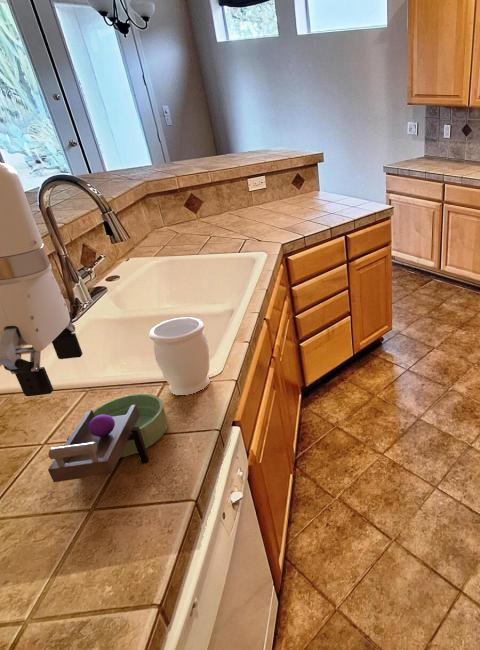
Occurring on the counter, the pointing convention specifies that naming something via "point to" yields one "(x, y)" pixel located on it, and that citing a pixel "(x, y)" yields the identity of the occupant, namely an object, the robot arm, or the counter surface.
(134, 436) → the bracket
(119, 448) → the scoop
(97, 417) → the ball
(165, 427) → the bowl
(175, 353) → the jar
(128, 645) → the counter surface
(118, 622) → the counter surface
